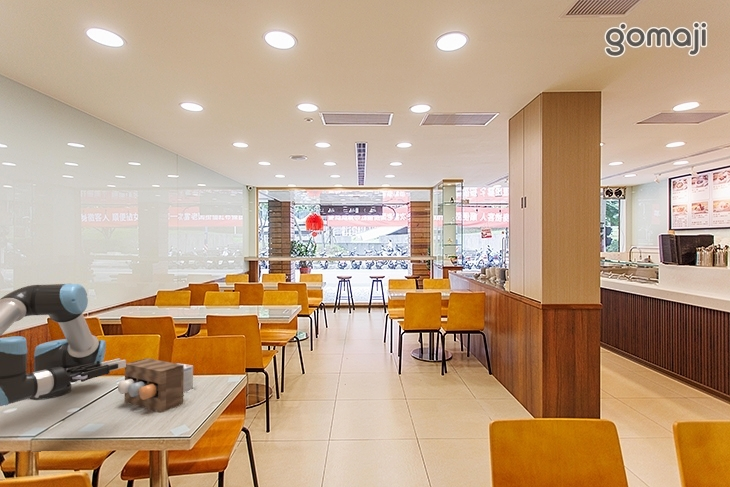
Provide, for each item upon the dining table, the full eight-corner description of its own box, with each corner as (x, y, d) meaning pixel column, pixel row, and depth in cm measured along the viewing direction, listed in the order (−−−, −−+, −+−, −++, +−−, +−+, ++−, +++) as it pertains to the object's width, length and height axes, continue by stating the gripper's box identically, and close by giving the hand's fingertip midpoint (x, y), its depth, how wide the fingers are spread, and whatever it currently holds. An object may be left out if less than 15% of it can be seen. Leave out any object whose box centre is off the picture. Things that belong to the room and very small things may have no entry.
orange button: (139, 398, 153) (139, 385, 153) (158, 392, 160) (158, 379, 160) (147, 400, 151) (147, 387, 151) (166, 393, 158) (166, 381, 158)
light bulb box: (164, 390, 178) (164, 366, 179) (176, 385, 185) (177, 362, 185) (181, 393, 174) (181, 369, 175) (193, 388, 181) (193, 365, 181)
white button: (117, 393, 159) (117, 380, 159) (137, 386, 167) (137, 375, 167) (125, 395, 157) (125, 382, 157) (144, 388, 164) (144, 376, 164)
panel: (124, 401, 164) (124, 363, 164) (147, 394, 173) (147, 358, 173) (161, 412, 153) (161, 371, 153) (183, 403, 162) (183, 365, 162)
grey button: (128, 395, 156) (128, 383, 156) (147, 389, 163) (147, 377, 163) (135, 397, 154) (136, 385, 154) (155, 391, 161) (155, 379, 161)
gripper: (35, 389, 127) (109, 369, 148) (61, 397, 120) (135, 375, 141) (35, 366, 128) (109, 350, 149) (61, 372, 120) (135, 355, 141)
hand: (122, 362), depth 145 cm, fingers open, 3 cm apart
